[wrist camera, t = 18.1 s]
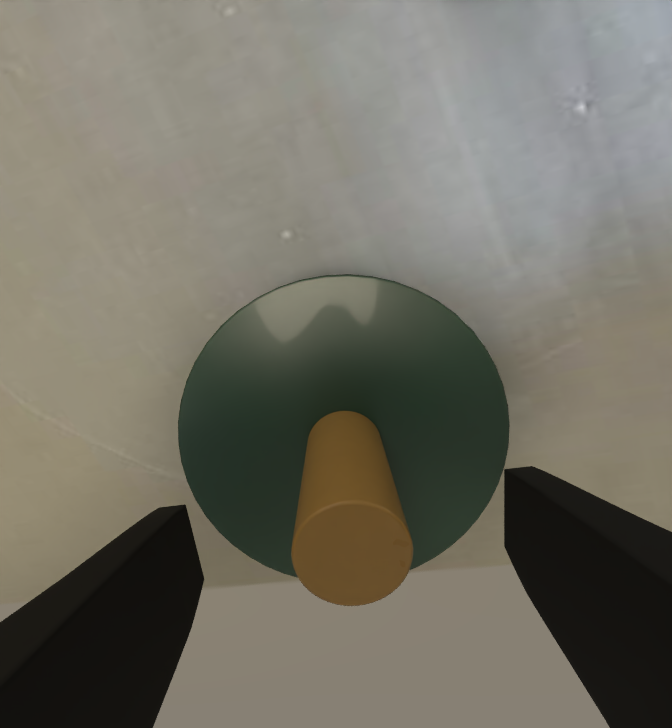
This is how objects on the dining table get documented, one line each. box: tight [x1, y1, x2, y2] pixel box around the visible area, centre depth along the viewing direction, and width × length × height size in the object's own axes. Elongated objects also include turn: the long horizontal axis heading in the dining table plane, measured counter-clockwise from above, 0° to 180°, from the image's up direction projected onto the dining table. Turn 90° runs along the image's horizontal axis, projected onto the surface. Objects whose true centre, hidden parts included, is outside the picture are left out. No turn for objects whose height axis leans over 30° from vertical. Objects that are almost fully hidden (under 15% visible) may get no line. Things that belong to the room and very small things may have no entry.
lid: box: [178, 274, 509, 606], centre depth 10 cm, size 11×11×6 cm
